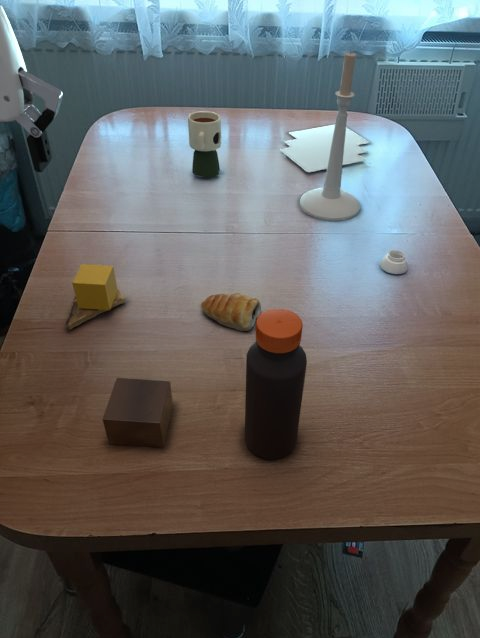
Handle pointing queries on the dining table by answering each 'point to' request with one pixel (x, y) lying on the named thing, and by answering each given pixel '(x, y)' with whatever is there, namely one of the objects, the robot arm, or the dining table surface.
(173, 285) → the dining table surface
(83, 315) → the toasted sandwich
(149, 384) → the walnut block
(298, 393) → the bottle
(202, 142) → the character mug
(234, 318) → the pastry
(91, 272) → the mustard block
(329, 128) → the paper stack
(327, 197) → the candlestick
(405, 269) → the white jar
